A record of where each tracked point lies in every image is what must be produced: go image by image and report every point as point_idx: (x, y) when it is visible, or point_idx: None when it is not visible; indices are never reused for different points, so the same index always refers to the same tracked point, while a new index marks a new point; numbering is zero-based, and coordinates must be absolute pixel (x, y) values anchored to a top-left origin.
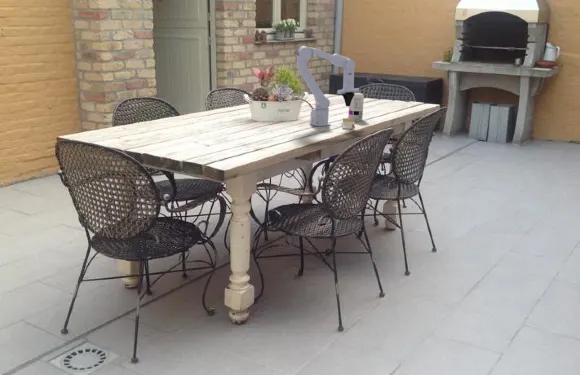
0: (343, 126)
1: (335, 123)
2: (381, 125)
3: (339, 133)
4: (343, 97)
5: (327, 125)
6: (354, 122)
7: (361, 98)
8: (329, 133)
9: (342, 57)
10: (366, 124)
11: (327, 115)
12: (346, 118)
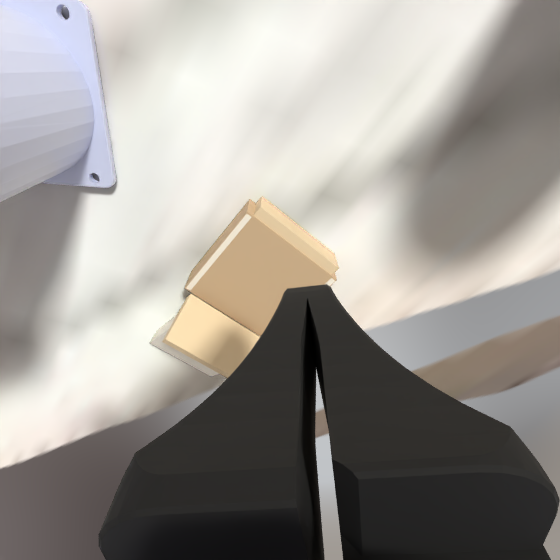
0: (161, 343)
1: (225, 80)
2: (555, 317)
3: (75, 420)
4: (208, 400)
5: (71, 183)
6: (330, 285)
7: None
8: (6, 405)
9: None
10: (487, 244)
11: (3, 200)
12: (195, 357)
